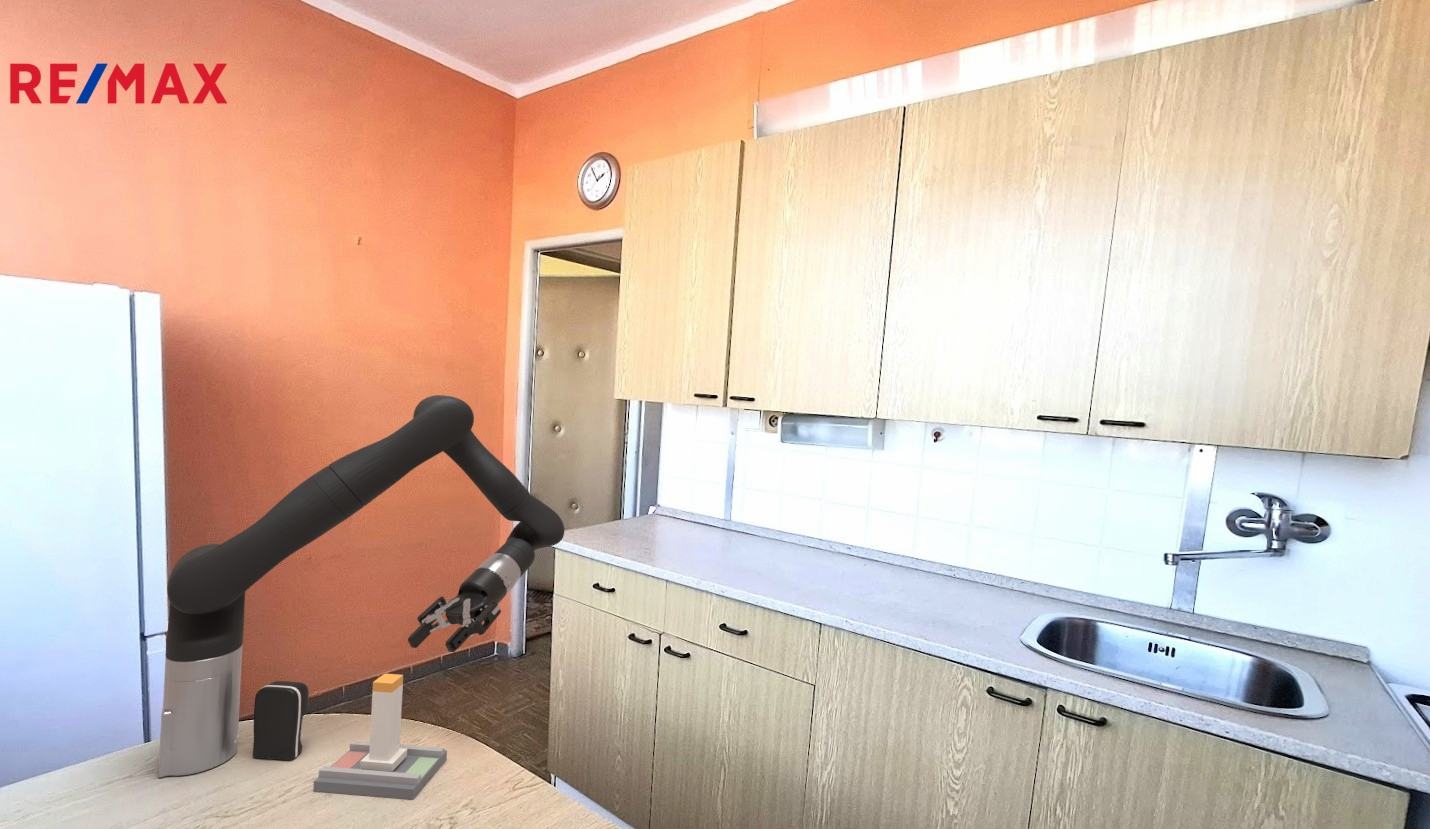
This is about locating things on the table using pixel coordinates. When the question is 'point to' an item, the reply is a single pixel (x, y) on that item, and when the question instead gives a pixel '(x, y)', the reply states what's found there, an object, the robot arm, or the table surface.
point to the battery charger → (279, 720)
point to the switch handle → (385, 725)
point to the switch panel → (381, 773)
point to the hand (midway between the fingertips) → (429, 646)
